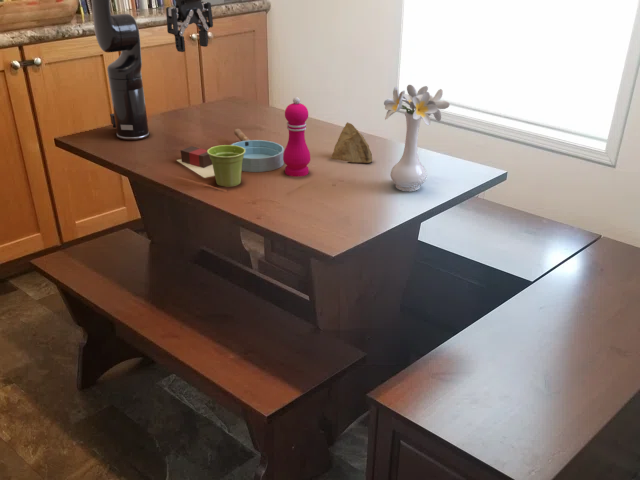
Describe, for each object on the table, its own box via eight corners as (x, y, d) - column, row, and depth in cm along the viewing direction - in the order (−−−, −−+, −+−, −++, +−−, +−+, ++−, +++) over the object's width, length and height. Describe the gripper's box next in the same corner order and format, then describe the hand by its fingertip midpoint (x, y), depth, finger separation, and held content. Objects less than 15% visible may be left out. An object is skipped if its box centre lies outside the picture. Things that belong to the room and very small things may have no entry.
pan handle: (251, 146, 193) (251, 139, 192) (244, 147, 193) (244, 140, 192) (240, 134, 202) (239, 127, 201) (233, 134, 202) (233, 128, 201)
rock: (382, 152, 193) (358, 139, 198) (373, 132, 185) (348, 119, 190) (357, 180, 192) (333, 166, 197) (347, 162, 184) (322, 147, 189)
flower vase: (445, 181, 182) (457, 83, 168) (412, 203, 169) (422, 99, 155) (403, 171, 188) (411, 75, 174) (367, 191, 175) (373, 89, 161)
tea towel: (176, 162, 188) (176, 159, 188) (205, 156, 193) (205, 154, 192) (204, 179, 178) (204, 177, 177) (234, 173, 182) (234, 170, 182)
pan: (217, 161, 190) (216, 146, 187) (265, 151, 198) (264, 136, 195) (246, 178, 180) (245, 162, 177) (295, 166, 188) (295, 151, 185)
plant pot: (203, 181, 177) (200, 148, 172) (235, 174, 182) (234, 142, 177) (220, 193, 171) (218, 159, 166) (253, 186, 175) (252, 152, 170)
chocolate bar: (181, 161, 187) (180, 150, 185) (192, 157, 190) (191, 145, 188) (203, 168, 183) (202, 156, 181) (214, 163, 186) (214, 151, 185)
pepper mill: (314, 171, 185) (315, 95, 174) (304, 180, 179) (304, 102, 168) (289, 167, 187) (288, 92, 176) (279, 176, 181) (277, 98, 170)
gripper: (195, -25, 176) (200, 42, 185) (154, -21, 165) (162, 51, 175) (217, -23, 172) (221, 46, 181) (177, -18, 162) (184, 55, 171)
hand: (192, 48), depth 178 cm, fingers open, 8 cm apart
